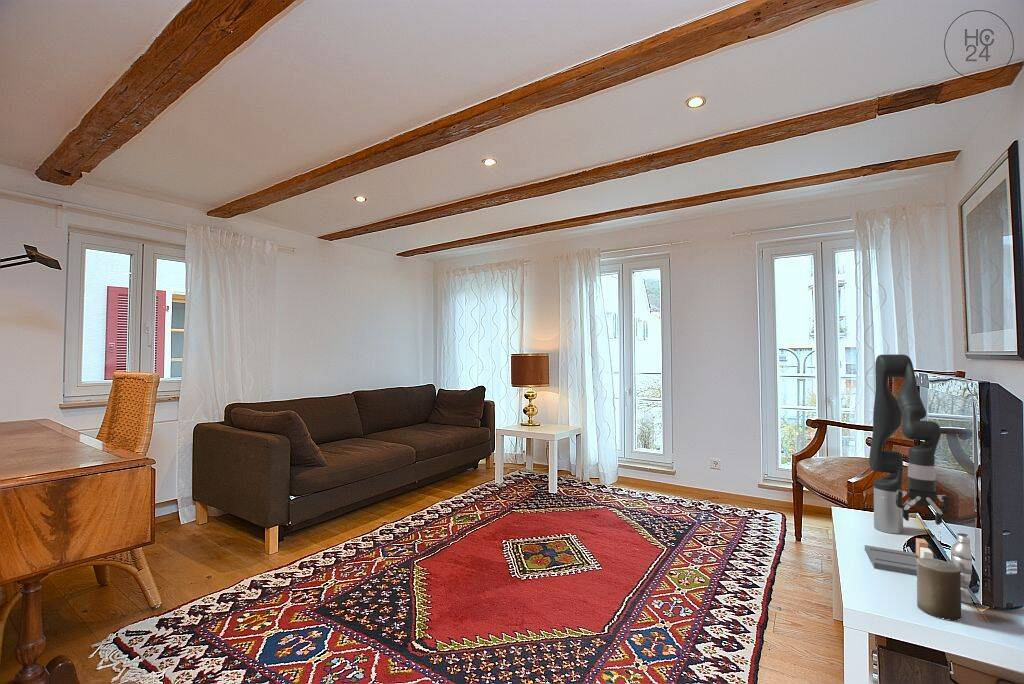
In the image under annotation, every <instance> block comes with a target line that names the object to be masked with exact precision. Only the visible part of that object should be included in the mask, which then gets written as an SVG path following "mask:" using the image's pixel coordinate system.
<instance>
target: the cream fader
mask: <svg viewBox="0 0 1024 684" xmlns="http://www.w3.org/2000/svg"><path fill="white" fill-rule="evenodd" d="M933 556H934V553H933V551H932V550H931V549H930V548H929V547H928V548H922V547H920V558H932V559H933Z"/></svg>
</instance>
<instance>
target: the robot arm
mask: <svg viewBox="0 0 1024 684" xmlns="http://www.w3.org/2000/svg"><path fill="white" fill-rule="evenodd" d="M874 368H875V369H874V379H875V380H874V381H875V383H874V385H875V390H874V391H875V392H874V393H875V394H874V405H873V414H872V435H871V436H872V437H871V443H870V449H869V457H868V463H869V464H868V465H869V468H870V469H871V471H873V472H876V473H887V474H888V475H887V476H885V477H880V478H877V479H874V480H873V527H874V529H876V530H877V531H881V532H883V533H889V534H902V533H903V531H904V520H905V521H906V522H907V521H909V520H910V519H909V518H910V513H909V512H910V511H909V509H910V508H911V507H913V506H915V505H917V506H924V507H929V506H930V507H932V509H933V510H934V511H935V512H934V517H935V518H934V522H935V524H936V525H937V526H940V524H942V523H943V515H945V514H949V513H950V506H949V498H948V496H947V495H945V494H937V491H936V489H937V488H936V487H937V485H936V483H937V479H936V478H937V475H936V467H935V453H936V449H937V446H938V444H939V441H940V439H941V435H942V430H941V427H940V425H939V424H938V423H937V422H936V421H934V420H933V421H931V420H923V419H924V418H926V416H927V410H926V408H925V405H924V403H923V400H922V398H921V396H920V393H919V389H918V384H917V377H916V374H915V373H916V372H915V370H914V364H913V362H912V359H911V357H910V356H909V355H906V354H901V353H900V354H898V353H897V354H891V353H890V354H879V355H877V357H876V359H875V364H874ZM888 378H903V381H904V383H903V384H902V386H901V388H900V390H899V392H898V394H897V396H896V397H895V395H894V394H893V393H892V391H891V389H890V387H889V384H888ZM900 426H901V432H902V433H901V434H902V435H903V436H904V437H905V438H906V439H908V440H912V441H922V442H923V441H924V442H923V443H922V444H921V445H914V446H909V448H908V451H907V452H908V454H907V455H908V462H907V463H908V465H907V490H906V491H905V490H902V489H903V471H904V458H903V455H902V454H901V452H899V451H896V450H887V449H886V450H885V449H883V448H884V445H885V443H886V442H887V441H888V440H889V438H890V437H891V436H892V435H893V434H894V433H895V432H896V431H897V430H898V429H899V428H900ZM905 496H907V497H908V499H906V501H905V502H904V503H903V498H904V497H905ZM938 499H939V501H940V502H941V508H939V507H938V506H937V505H936V503H935V502H936V501H937V500H938Z"/></svg>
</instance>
